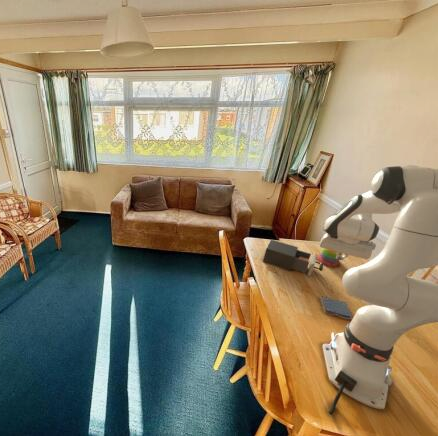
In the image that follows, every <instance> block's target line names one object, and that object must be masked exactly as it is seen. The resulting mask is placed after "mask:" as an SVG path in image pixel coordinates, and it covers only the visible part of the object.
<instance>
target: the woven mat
mask: <svg viewBox="0 0 438 436" xmlns="http://www.w3.org/2000/svg"><path fill="white" fill-rule="evenodd" d="M319 300H320V304H322V311H323V312H324V313H325V314H327V315H331V316H337V317H339V318H342V319H346V320H351V321H352V319H353V315H352V314H351V310H350V309H349V305H348V303H347V302H346V301H343V300H339V299H338V300H337V299H335V298H332V297H327V296H326V297H325V296H323V295H322V296H320V297H319Z"/></svg>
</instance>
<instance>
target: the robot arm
mask: <svg viewBox="0 0 438 436" xmlns="http://www.w3.org/2000/svg"><path fill="white" fill-rule="evenodd" d="M374 175H375V176H374V177H373V178H372V180H371V182H370V190H369V191H367V192H364V193H362V194H357V195H355V196H353V197H352V198H350V200H348V201H347V202H346V203H345V204H344V205H342V206H341V207H340V208H338V210H337V211H336V212H334V213H333V214H331V215H329V216H328V217H327V218H326V219H325V222H324V225H323V230H324V231H325V234H323V236H322V237H321V239H320V241H319V247H320V248H322V249H323V248H326V249H330V250H333V251H336V255H337V256H336V259H339V261H344V259H345V258H348V257H349V256H352V257H355V258H359V259H362V260H369V259H370V258H371V256H372V253H373V251H374V250H375V249H376V248H377V244H376V243H374V241H373V240H374V239H376V237H377V236H378V235H379V231H380V226H379V225H378V224H377V223H376V222H375V221H374V219H373V215H374V214H375V215H376V214H377V215H391V214H396V213H398V214H397V216H396V219H395V221H394V223H393V226H392V229H391V231H390V233H389V236H388V238H387V241H386V242H385V245H384V246H383V248H382V249H381V251H380V252H379V253H378V254H377V255H376V256H375V257H373V258H372V259H371V260H369V261H367V262H365V263H363V264H361V265H358V266H353V267H350V268H349V269H347V270H346V271H345V272H344V273H343V276H342V278H341V285H342V287H343V290H344V292H345V293H346V295H348V296H349V297H352V298H353V299H356V300H359V301H361V302H363V303H366V304H367V305H364V306H362V307H360V308H358V309H357V310H356V312H355V314H354V316H352V319H351V321H350V322H348V323H347V324H346V325H345V327H344V330H343V331H342V332H338V333H336V334H335V335H334V332H332V333H331V341H330V343H323V344H322V351H323V352H322V353H323V357H324V362H325V367H326V371H327V376H328V380H329V383H331V384H332V385H333V386H334V387H336V388H337V389H338V391H337V393H336V395H335V397H334V399H333V402H332V404H331V405H330V408H329V411H328V414H329V415H333V413H334V411H335V408H336V406H337V404H338V402H339V401H340V398H341V396H342V394H343V393H344V394H345V395H346V396H348V397H350V398H352V399H354V400H355V401H357V402H359V403H361V404H363V405H366V406H368V407H370V408H373V409H377V410H385V407H386V404H387V398H388V392H389V386H390V387H391V385H393V381H394V380H393V378H391V375H390V373H389V372H392V370H393V366H390V362H391V359H392V354H393V351H394V347H395V344H396V343H397V342H398V340H399V339H400V338H401V337H402V336H403V335H404V334H405V333H407V332H409V331H411V330H413V329H415V328H417V327H420V326H425V325H428V324H432V323H438V283H437V282H434V281H432V280H427V279H422V278H418V277H413V276H409V275H410V274H411V273H413V272H416V271H419V270H423V269H430V268H434V267H437V266H438V168H431V167H426V166H425V167H423V166H418V165H412V164H407V165H398V166H397V165H396V166H386V167H383V168H381V169H380V170H378V171H377V172H376V174H374ZM340 252H341V253H342V256H340V255H339V253H340Z"/></svg>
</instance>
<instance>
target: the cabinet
mask: <svg viewBox="0 0 438 436" xmlns="http://www.w3.org/2000/svg"><path fill="white" fill-rule="evenodd" d="M297 250H299V247H298V246H295V245H292V244H288V243H285V242H281V241H277V240H275V239H270V241H269V243H268V244H267V246H266V248H265V251H264V256H263V260H262V262H263V263H266V264H268V265H271V266H274V267H277V268H280V269H283V270H287V271H289V272H291V270H292V268H291V267H292V264H293V261H294V258H295V255H296V252H297Z"/></svg>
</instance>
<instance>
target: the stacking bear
mask: <svg viewBox="0 0 438 436" xmlns="http://www.w3.org/2000/svg"><path fill="white" fill-rule="evenodd" d="M339 255H340V256H343V253H341V252H340V253H339ZM336 256H337V255H336V251H333V250H330V249H326V248H322V249H321V254H317V255H316V259H317V260H318V262H319V263H321V262H322V263H323V266H328V267H332V268H333V267H338V266H339V265H340V260H339V259H336Z"/></svg>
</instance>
